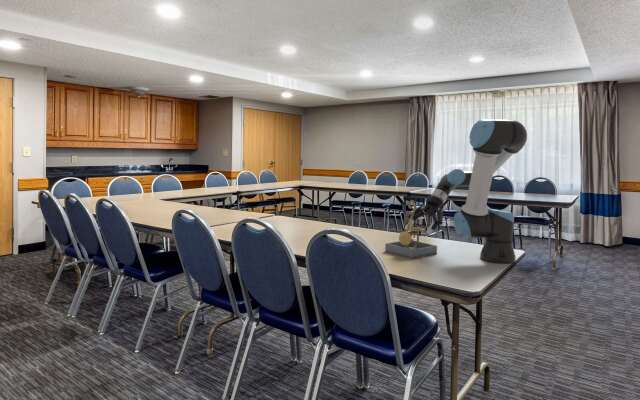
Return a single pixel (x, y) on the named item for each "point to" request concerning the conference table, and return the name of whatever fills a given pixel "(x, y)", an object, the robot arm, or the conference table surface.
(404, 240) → the wall sconce
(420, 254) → the tray
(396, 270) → the conference table surface
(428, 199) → the robot arm
